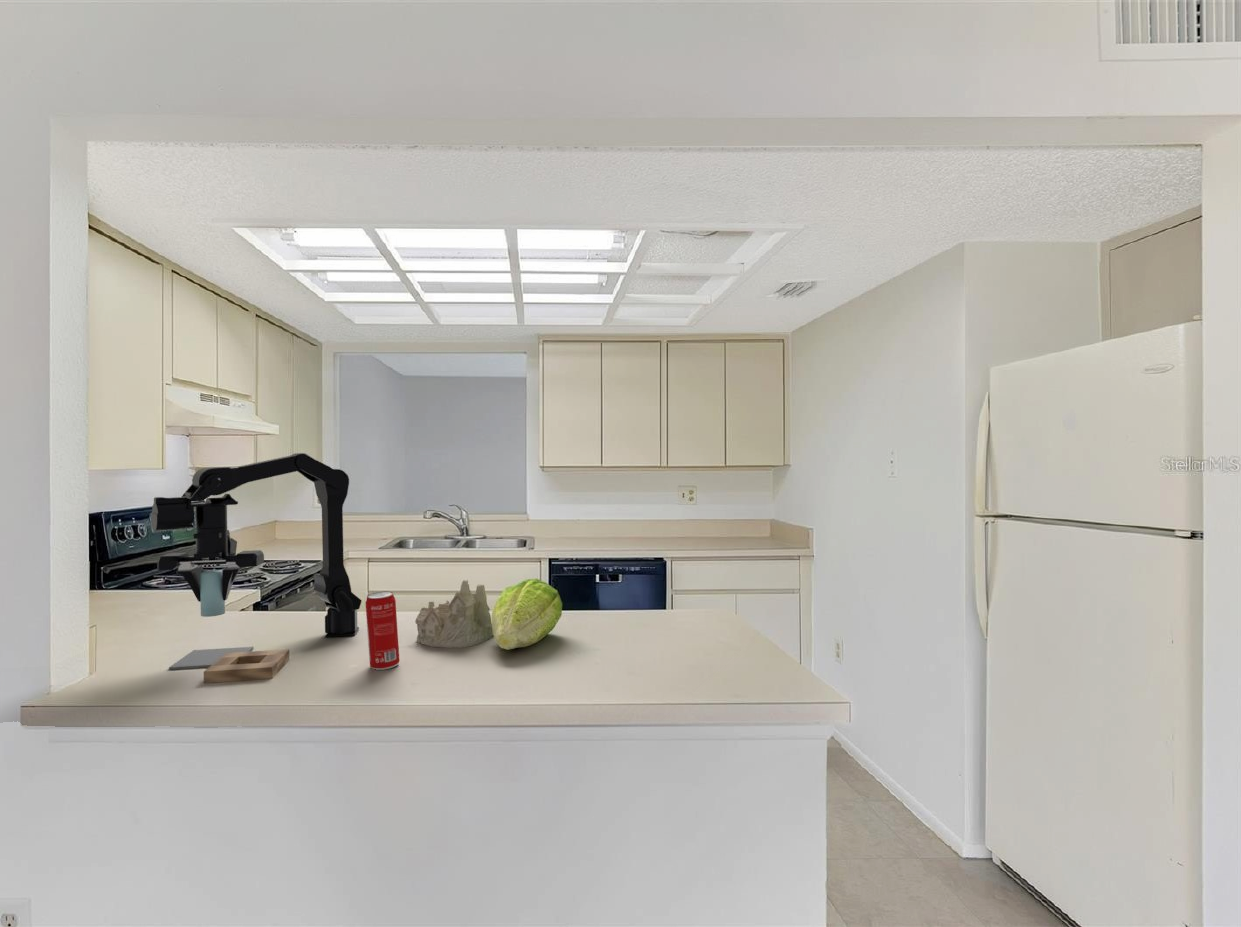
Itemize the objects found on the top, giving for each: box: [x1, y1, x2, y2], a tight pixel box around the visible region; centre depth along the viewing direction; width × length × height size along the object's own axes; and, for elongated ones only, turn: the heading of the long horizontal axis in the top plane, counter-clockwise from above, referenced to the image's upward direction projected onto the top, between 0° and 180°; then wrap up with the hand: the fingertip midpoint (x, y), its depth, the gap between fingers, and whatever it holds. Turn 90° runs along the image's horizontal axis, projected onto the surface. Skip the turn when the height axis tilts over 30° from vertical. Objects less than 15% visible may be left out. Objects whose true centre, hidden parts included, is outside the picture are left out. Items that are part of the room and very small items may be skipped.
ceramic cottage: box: [414, 579, 494, 649], centre depth 158 cm, size 16×16×15 cm
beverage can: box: [365, 590, 400, 671], centre depth 137 cm, size 6×6×15 cm
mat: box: [168, 646, 254, 671], centre depth 142 cm, size 12×12×1 cm
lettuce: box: [490, 578, 563, 651], centre depth 152 cm, size 14×24×15 cm
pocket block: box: [203, 648, 290, 684], centre depth 134 cm, size 12×12×2 cm
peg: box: [200, 569, 226, 618], centre depth 142 cm, size 4×4×9 cm
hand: (212, 600), depth 142 cm, fingers closed on peg, 4 cm apart
